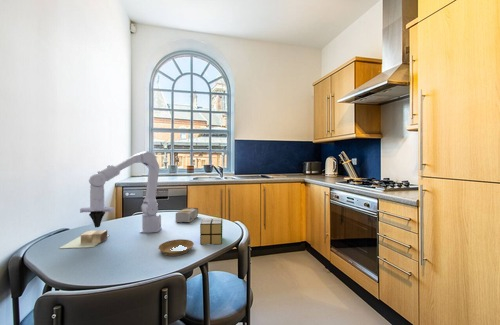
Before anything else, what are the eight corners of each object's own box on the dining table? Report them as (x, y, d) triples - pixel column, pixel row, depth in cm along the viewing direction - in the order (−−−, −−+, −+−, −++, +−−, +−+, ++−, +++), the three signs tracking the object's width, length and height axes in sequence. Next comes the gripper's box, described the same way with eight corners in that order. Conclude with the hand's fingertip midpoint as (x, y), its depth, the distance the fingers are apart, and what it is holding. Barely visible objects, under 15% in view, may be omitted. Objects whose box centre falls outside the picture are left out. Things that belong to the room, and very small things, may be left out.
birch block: (107, 230, 115) (87, 230, 114) (101, 234, 109) (80, 234, 108) (107, 238, 115) (87, 238, 114) (101, 242, 109) (80, 243, 108)
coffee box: (175, 212, 144) (185, 207, 160) (175, 222, 144) (185, 216, 160) (189, 213, 143) (198, 207, 159) (189, 223, 143) (198, 216, 159)
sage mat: (109, 235, 120) (109, 234, 120) (93, 247, 104) (93, 246, 104) (80, 236, 118) (80, 235, 118) (59, 248, 102) (59, 248, 102)
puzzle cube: (202, 237, 118) (202, 218, 117) (222, 237, 118) (222, 218, 118) (200, 245, 108) (200, 223, 107) (221, 244, 108) (221, 223, 108)
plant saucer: (171, 261, 91) (171, 255, 91) (151, 252, 100) (151, 246, 100) (200, 249, 103) (200, 244, 103) (180, 242, 111) (180, 237, 111)
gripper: (75, 200, 106) (76, 229, 107) (109, 200, 108) (109, 228, 109) (84, 198, 113) (84, 225, 114) (116, 197, 115) (116, 224, 116)
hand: (97, 226), depth 112 cm, fingers closed
